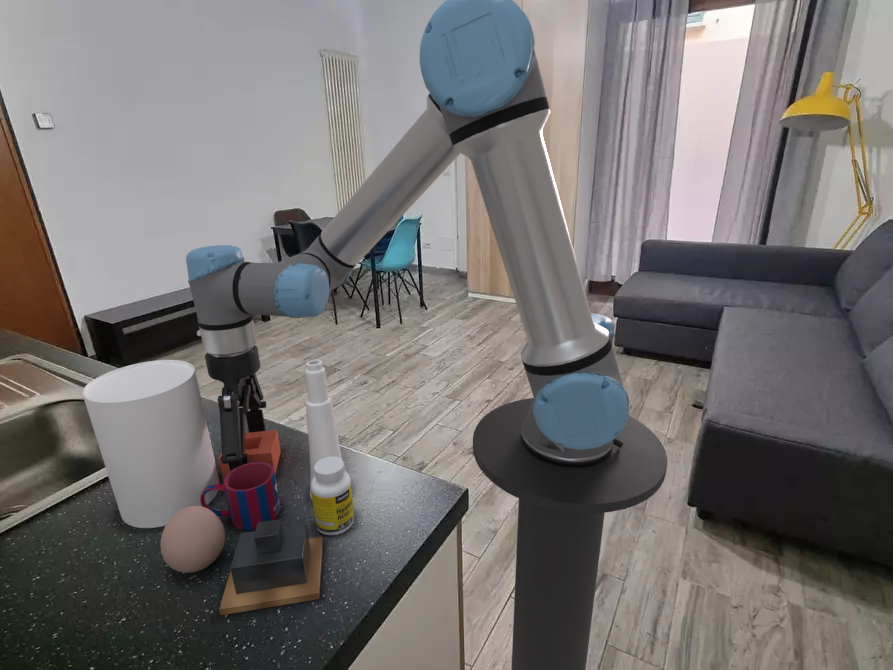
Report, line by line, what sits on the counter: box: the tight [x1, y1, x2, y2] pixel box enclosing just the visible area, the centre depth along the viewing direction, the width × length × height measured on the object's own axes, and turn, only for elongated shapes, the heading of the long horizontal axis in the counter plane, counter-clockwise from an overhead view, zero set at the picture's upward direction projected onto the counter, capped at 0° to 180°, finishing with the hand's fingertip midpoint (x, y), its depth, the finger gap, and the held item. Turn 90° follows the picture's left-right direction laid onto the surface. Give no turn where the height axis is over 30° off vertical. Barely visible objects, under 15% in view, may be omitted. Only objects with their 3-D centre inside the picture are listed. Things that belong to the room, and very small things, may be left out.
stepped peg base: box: [218, 518, 324, 616], centre depth 59 cm, size 11×9×8 cm
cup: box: [200, 462, 282, 532], centre depth 69 cm, size 7×10×7 cm
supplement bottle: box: [310, 457, 355, 536], centre depth 67 cm, size 5×5×10 cm
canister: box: [81, 359, 221, 529], centre depth 71 cm, size 14×14×20 cm
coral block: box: [218, 429, 281, 483], centre depth 81 cm, size 8×7×4 cm
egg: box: [159, 506, 226, 574], centre depth 61 cm, size 7×7×8 cm
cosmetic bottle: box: [304, 358, 343, 500], centre depth 71 cm, size 6×6×22 cm
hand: (252, 465), depth 82 cm, fingers open, 13 cm apart
